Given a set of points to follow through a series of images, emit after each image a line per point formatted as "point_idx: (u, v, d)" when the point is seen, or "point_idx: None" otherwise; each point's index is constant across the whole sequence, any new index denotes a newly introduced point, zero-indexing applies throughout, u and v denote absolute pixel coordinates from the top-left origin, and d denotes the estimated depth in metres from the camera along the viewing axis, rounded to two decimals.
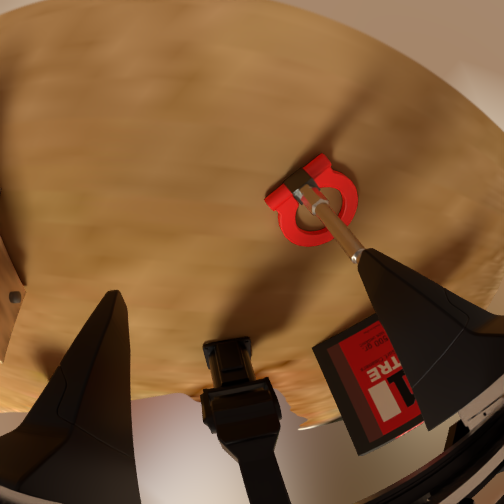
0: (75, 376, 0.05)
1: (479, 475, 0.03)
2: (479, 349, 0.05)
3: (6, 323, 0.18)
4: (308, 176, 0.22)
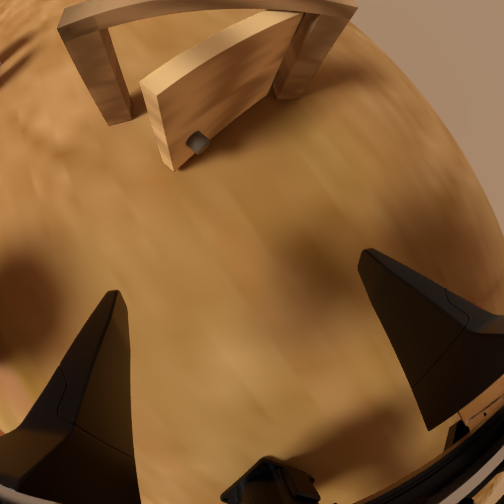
0: (75, 376, 0.05)
1: (479, 475, 0.03)
2: (479, 349, 0.05)
3: (183, 121, 0.13)
4: None
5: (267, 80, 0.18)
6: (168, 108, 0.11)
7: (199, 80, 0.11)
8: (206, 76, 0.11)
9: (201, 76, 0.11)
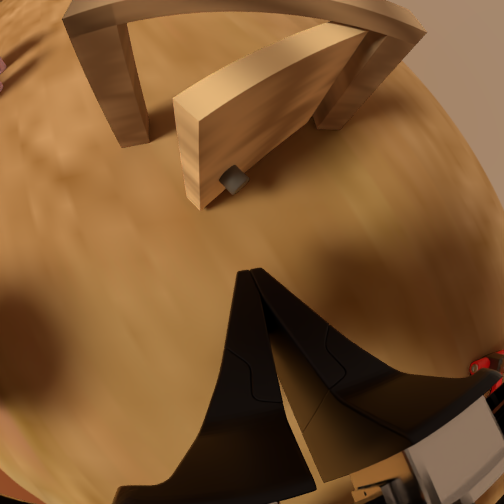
0: (256, 355, 0.06)
1: None
2: (347, 421, 0.04)
3: (221, 155, 0.11)
4: None
5: (312, 107, 0.16)
6: (209, 139, 0.09)
7: (251, 103, 0.09)
8: (260, 99, 0.09)
9: (255, 98, 0.09)
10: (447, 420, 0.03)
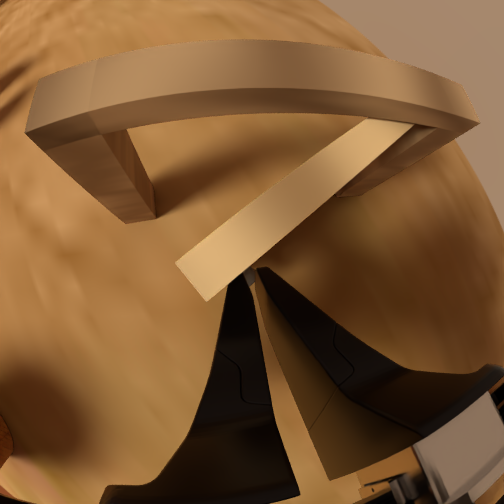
0: (247, 357, 0.06)
1: None
2: (356, 417, 0.05)
3: None
4: None
5: None
6: None
7: None
8: None
9: None
10: (455, 414, 0.03)
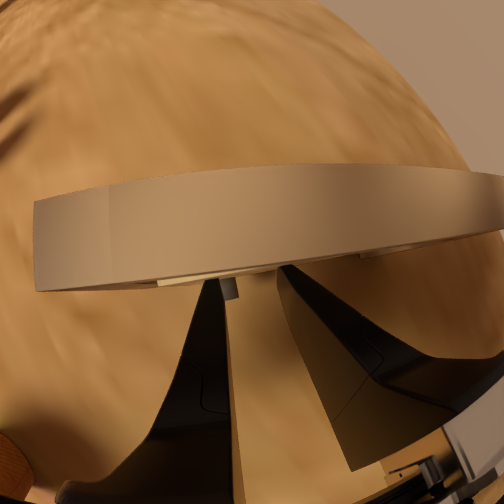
0: (210, 363, 0.06)
1: None
2: (389, 403, 0.05)
3: None
4: None
5: None
6: (183, 283, 0.08)
7: (248, 271, 0.08)
8: (263, 268, 0.08)
9: (253, 270, 0.08)
10: (482, 392, 0.03)
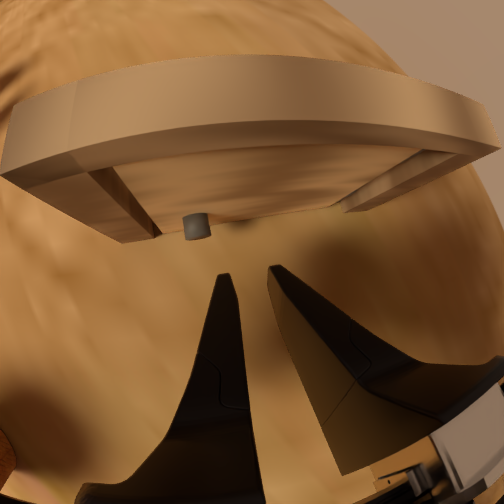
0: (227, 360, 0.06)
1: None
2: (375, 409, 0.05)
3: (175, 201, 0.10)
4: None
5: (333, 195, 0.14)
6: (142, 184, 0.08)
7: (206, 167, 0.08)
8: (221, 166, 0.08)
9: (210, 163, 0.07)
10: (471, 401, 0.03)
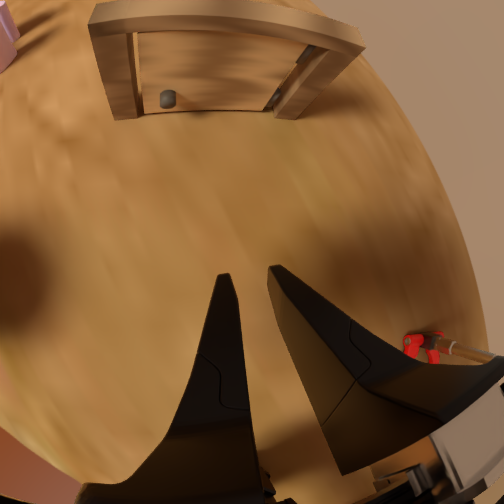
0: (227, 360, 0.06)
1: None
2: (375, 409, 0.05)
3: (159, 71, 0.15)
4: (439, 334, 0.26)
5: (261, 93, 0.19)
6: (146, 50, 0.12)
7: (179, 43, 0.12)
8: (186, 44, 0.12)
9: (181, 41, 0.12)
10: (471, 401, 0.03)
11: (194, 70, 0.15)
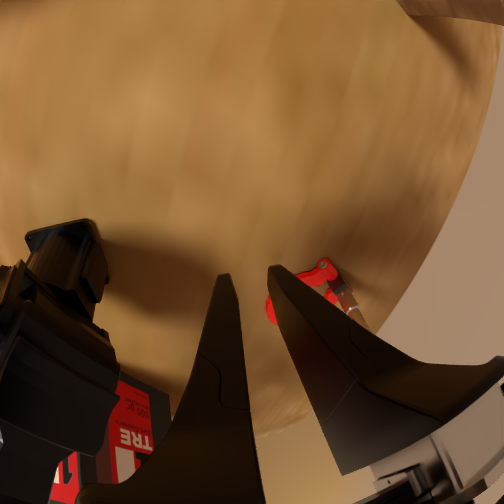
0: (227, 360, 0.06)
1: None
2: (375, 410, 0.05)
3: None
4: (350, 288, 0.28)
5: None
6: None
7: None
8: None
9: None
10: (472, 401, 0.03)
11: None
